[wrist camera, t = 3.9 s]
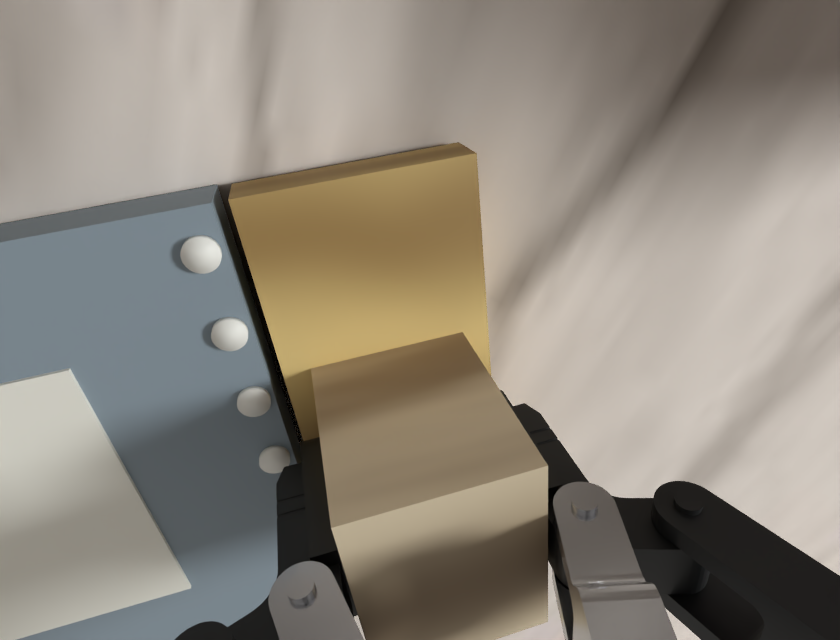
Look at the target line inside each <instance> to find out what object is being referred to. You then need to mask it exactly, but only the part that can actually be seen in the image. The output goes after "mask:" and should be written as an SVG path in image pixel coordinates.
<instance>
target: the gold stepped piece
mask: <svg viewBox="0 0 840 640" xmlns="http://www.w3.org/2000/svg"><path fill="white" fill-rule="evenodd" d="M228 201H229V204H230V207H231V210H232V214H233V217H234V220H235V223H236V226H237V230H238V233H239V236H240V239H241V242H242V246H243V249H244V252H245V255H246V258H247V262H248V265H249V268H250V271H251V275H252V278H253V281H254V284H255V287H256V291H257V294H258V297H259V300H260V303H261V307H262V310H263V313H264V316H265V319H266V323H267V326H268V329H269V332H270V336H271V339H272V342H273V345H274V348H275V352H276V355H277V358H278V361H279V364H280V368H281V371H282V374H283V377H284V380H285V384H286V387H287V390H288V393H289V396H290V400H291V403H292V406H293V409H294V413H295V416H296V419H297V422H298V425H299V429H300V432H301V435H302V438H303V441H305V440H309V439H313V438H317V437H320V445H321V453H322V460H323V468H324V476H325V484H326V492H327V500H328V508H329V516H330V524H331V529H332V533H333V536H334V539H335V542H336V546H337V549H338V552H339V555H340V558H341V562H342V565H343V568H344V571H345V575H346V578H347V581H348V584H349V587H350V591H351V594H352V597H353V600H354V604H355V607H356V610H357V613H358V616H359V620H360V623H361V626H362V629H363V632H364V636H365V639H366V640H495V639H498V638H501V637H504V636H507V635H510V634H513V633H516V632H519V631H522V630H525V629H528V628H531V627H534V626H537V625H540V624H543V623H546V622H548V465H547V463H546V462H545V460H544V459H543V457H542V455H541V454H540V452H539V451H538V449H537V448H536V446H535V444H534V443H533V441H532V440H531V438H530V437H529V435H528V433H527V432H526V430H525V429H524V427H523V426H522V424H521V423H520V421H519V419H518V418H517V416H516V415H515V413H514V412H513V410H512V408H511V407H510V405H509V404H508V402H507V401H506V399H505V398H504V396H503V394H502V393H501V391H500V390H499V388H498V387H497V385H496V383H495V382H494V380H493V379H492V377H491V367H490V352H489V337H488V321H487V306H486V291H485V276H484V260H483V245H482V230H481V214H480V199H479V184H478V168H477V153H475V152H474V151H472V150H470V149H469V148H467V147H465V146H464V145H462V144H460V143H459V142H458V143H453V144H447V145H442V146H436V147H431V148H425V149H420V150H414V151H409V152H403V153H398V154H392V155H387V156H382V157H376V158H371V159H365V160H360V161H354V162H349V163H343V164H338V165H332V166H327V167H321V168H316V169H310V170H305V171H300V172H294V173H289V174H283V175H278V176H272V177H267V178H261V179H256V180H250V181H245V182H239V183H234V184H232V185H231V190H230V194H229V198H228Z"/></svg>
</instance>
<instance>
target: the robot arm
mask: <svg viewBox="0 0 840 640" xmlns="http://www.w3.org/2000/svg"><path fill="white" fill-rule="evenodd" d="M500 391H501V393H502V394H503V396H504V398H505V399H506V401H507V402H508V404H509V405H510V407H511V408H512V410H513V412H514V413H515V415H516V416H517V418H518V419H519V421H520V423H521V424H522V426H523V427H524V429H525V430H526V432H527V433H528V435H529V437H530V438H531V440H532V441H533V443H534V444H535V446H536V448H537V449H538V451H539V452H540V454H541V455H542V457H543V459H544V460H545V462H546V463H547V465H548V561H549V563H550V565H551V567H552V579H553V585H554V590H555V594H556V599H557V604H558V609H559V613H560V618H561V623H562V628H563V633H564V637H565V640H677V638H676V635H675V633H674V630H673V627H672V625H671V622H670V620H669V617H668V614H667V612H666V609H667V610H668V611H669V612H671V613H672V614H673V615H674V616H675V617H676V618H677V619H679V620H680V621H681V622H682V623H683V624H684V625H685V626H686V627H688V628H689V629H690V630H691V631H692V632H693V633H694V634H696V635H697V636H698V637H699V638H700V639H701V640H840V576H839V575H837V574H836V573H834V572H833V571H831V570H830V569H828V568H827V567H825V566H824V565H822V564H820V563H819V562H817V561H816V560H814V559H813V558H811V557H810V556H808V555H807V554H805V553H804V552H802V551H800V550H799V549H797V548H796V547H794V546H793V545H791V544H790V543H788V542H787V541H785V540H784V539H782V538H780V537H779V536H777V535H776V534H774V533H773V532H771V531H770V530H768V529H767V528H765V527H764V526H762V525H760V524H759V523H757V522H756V521H754V520H753V519H751V518H750V517H748V516H747V515H745V514H744V513H742V512H740V511H739V510H737V509H736V508H734V507H733V506H731V505H730V504H728V503H727V502H725V501H724V500H722V499H720V498H719V497H717V496H716V495H714V494H713V493H711V492H710V491H708V490H707V489H705V488H703V487H701V486H699V485H696V484H693V483H690V482H685V481H673V482H668V483H665V484H663V485H661V486H660V487H659V488H658V489H657V490H656V492H655V494H654V498H619V497H614V496H611V495H610V494H609V493H608V492H607V491H606V490H605V489H603V488H602V487H600V486H598V485H595V484H592V483H589V482H588V480H587V479H586V478H585V476H584V475H583V474H582V472H581V471H580V469H579V468H578V467H577V465H576V464H575V462H574V461H573V459H572V458H571V457H570V455H569V454H568V452H567V451H566V449H565V448H564V447H563V445H562V444H561V442H560V441H559V440H557V437H556V435H555V434H554V432H553V431H552V430H551V429H550V428H549V425H548V424H547V423H546V421H545V420H544V418H543V417H542V415H541V414H540V413H539V412H537V411H536V410H534V409H533V408H531V407H529V406H528V405H526V404H525V403H524V404H520V405H517V406H512V404H511V403H510V401H509V400H508V398H507V397H506V395H505V394H504V392H503V391H502V390H500ZM300 447H301V460H302V462H301V463H297V464H293V465H290V466H286V467H284V468H283V471H282V473H281V475H280V477H279V479H278V481H277V483H276V499H277V551H278V574H277V579H276V581H275V582H274V584H273V586H272V587H271V590H270V593H269V595H268V597H267V598H266V599H265V600H264V601H263V603H262V604H260V605H259V606H258V607H257V608H256V609H255V610H253V611H252V612H250V613H249V614H247V615H246V616H244V617H243V618H241V619H239V620H238V621H236V622H235V623H233V624H232V625H230V626H228V627H227V626H225V625H224V624H222V623H219V622H215V621H207V622H202V623H199V624H196V625H194V626H192V627H190V628H188V629H187V630H185V631H184V632H182V633H181V634H180V635H179V636H178V637H177V638H176V639H175V640H364V639H363V637H362V635H361V633H360V630H359V628H358V626H357V624H356V622H355V620H354V616H356V615H358V613H357V610H356V607H355V604H354V600H353V597H352V594H351V591H350V587H349V584H348V581H347V578H346V575H345V571H344V568H343V565H342V562H341V558H340V555H339V552H338V549H337V546H336V542H335V539H334V536H333V533H332V529H331V524H330V516H329V508H328V500H327V492H326V484H325V476H324V468H323V460H322V453H321V445H320V437H317V438H313V439H309V440H305V441H302V442H301V443H300ZM665 608H666V609H665Z"/></svg>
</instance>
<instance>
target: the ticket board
mask: <svg viewBox="0 0 840 640" xmlns="http://www.w3.org/2000/svg"><path fill="white" fill-rule="evenodd" d="M301 462H302V460H301V447H300V444H299V441H298V438H297V435H296V432H295V428H294V425H293V422H292V419H291V416H290V413H289V409H288V406H287V403H286V400H285V397H284V394H283V391H282V387H281V384H280V381H279V378H278V375H277V372H276V369H275V365H274V362H273V359H272V356H271V353H270V350H269V347H268V343H267V340H266V337H265V334H264V331H263V328H262V325H261V321H260V318H259V315H258V312H257V309H256V306H255V302H254V299H253V296H252V293H251V290H250V287H249V284H248V280H247V277H246V274H245V271H244V268H243V265H242V262H241V258H240V255H239V252H238V249H237V246H236V243H235V240H234V236H233V233H232V230H231V227H230V224H229V221H228V218H227V214H226V211H225V208H224V205H223V202H222V199H221V195H220V192H219V189H218V186H217V185H211V186H206V187H201V188H195V189H190V190H184V191H179V192H173V193H168V194H162V195H157V196H151V197H146V198H140V199H135V200H129V201H124V202H118V203H113V204H107V205H102V206H96V207H91V208H85V209H80V210H74V211H69V212H63V213H58V214H52V215H47V216H41V217H36V218H30V219H25V220H19V221H14V222H8V223H3V224H0V640H175V639H176V638H177V637H178V636H179V635H180V634H181V633H182V632H184V631H185V630H187V629H188V628H190V627H192V626H194V625H196V624H199V623H202V622H207V621H215V622H219V623H222V624H224V625H225V626H227V627H228V626H230V625H232V624H233V623H235V622H236V621H238V620H239V619H241V618H243V617H244V616H246V615H247V614H249V613H250V612H252V611H253V610H255V609H256V608H257V607H258V606H259V605H260V604H262V603H263V601H264V600H265V599H266V598H267V597H268V595H269V593H270V590H271V587H272V586H273V584H274V582H275V581H276V579H277V574H278V551H277V499H276V483H277V481H278V479H279V477H280V475H281V473H282V471H283V468H284V467H286V466H290V465H293V464H297V463H301Z"/></svg>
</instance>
